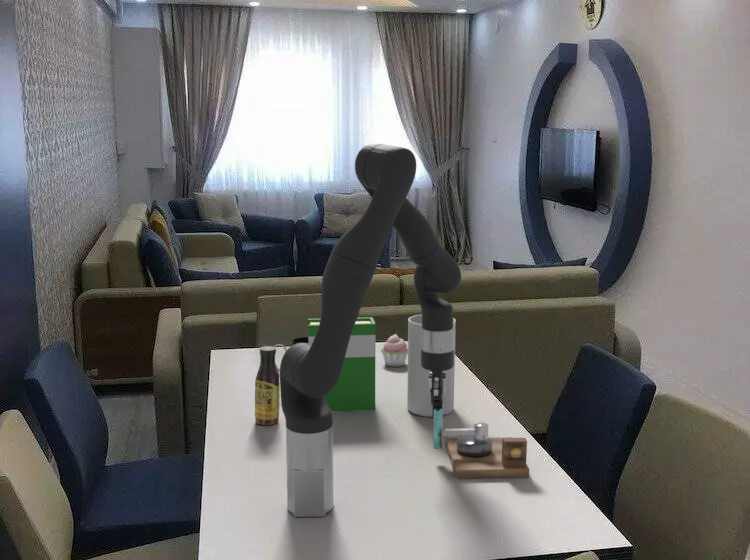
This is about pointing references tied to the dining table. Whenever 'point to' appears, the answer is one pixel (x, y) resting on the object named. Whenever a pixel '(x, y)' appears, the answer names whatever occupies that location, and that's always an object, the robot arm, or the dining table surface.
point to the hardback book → (354, 368)
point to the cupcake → (395, 351)
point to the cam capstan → (463, 437)
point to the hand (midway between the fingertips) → (437, 418)
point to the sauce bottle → (267, 388)
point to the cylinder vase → (424, 375)
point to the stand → (491, 460)
